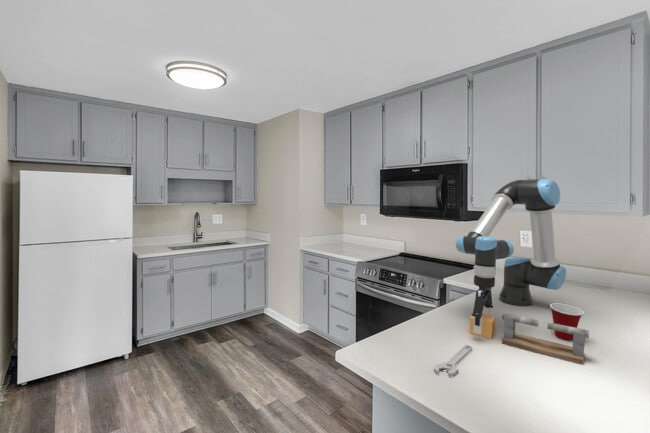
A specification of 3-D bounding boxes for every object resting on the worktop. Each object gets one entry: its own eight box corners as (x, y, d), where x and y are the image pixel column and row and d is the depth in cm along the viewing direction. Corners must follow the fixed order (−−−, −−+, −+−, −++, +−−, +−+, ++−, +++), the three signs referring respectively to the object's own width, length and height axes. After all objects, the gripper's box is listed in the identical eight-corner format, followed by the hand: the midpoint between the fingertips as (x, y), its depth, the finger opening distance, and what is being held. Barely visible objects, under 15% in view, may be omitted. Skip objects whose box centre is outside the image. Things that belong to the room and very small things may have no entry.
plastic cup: (567, 345, 122) (569, 313, 122) (541, 333, 133) (543, 304, 132) (589, 342, 125) (591, 311, 124) (562, 330, 136) (563, 302, 135)
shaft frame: (504, 334, 132) (505, 309, 131) (587, 354, 115) (589, 326, 115) (498, 343, 124) (500, 316, 123) (587, 365, 107) (588, 335, 107)
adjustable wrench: (465, 348, 121) (465, 343, 120) (483, 354, 116) (484, 349, 116) (430, 372, 103) (431, 367, 103) (450, 381, 99) (450, 375, 99)
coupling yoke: (473, 328, 137) (474, 313, 137) (495, 333, 132) (495, 317, 132) (469, 333, 132) (470, 317, 132) (491, 339, 127) (491, 322, 127)
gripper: (482, 269, 143) (480, 317, 144) (465, 279, 123) (462, 335, 124) (501, 271, 138) (499, 321, 139) (487, 283, 118) (484, 341, 120)
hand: (482, 328), depth 132 cm, fingers open, 13 cm apart
